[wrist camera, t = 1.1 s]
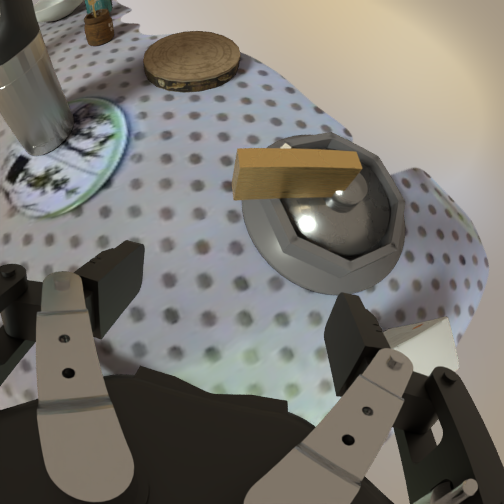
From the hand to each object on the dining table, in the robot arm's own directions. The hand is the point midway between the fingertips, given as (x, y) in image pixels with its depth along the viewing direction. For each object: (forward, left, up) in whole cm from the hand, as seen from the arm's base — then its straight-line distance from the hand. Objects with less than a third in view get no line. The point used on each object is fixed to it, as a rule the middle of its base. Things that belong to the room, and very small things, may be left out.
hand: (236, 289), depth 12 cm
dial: (-9, +15, -18) cm, 25 cm away
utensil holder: (-59, -6, -19) cm, 63 cm away
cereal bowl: (-88, -18, -19) cm, 92 cm away
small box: (+11, +14, -19) cm, 26 cm away
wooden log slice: (-40, +9, -20) cm, 46 cm away
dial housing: (-8, +18, -19) cm, 27 cm away
